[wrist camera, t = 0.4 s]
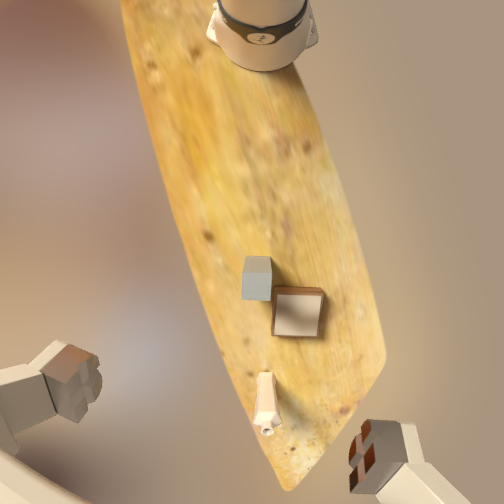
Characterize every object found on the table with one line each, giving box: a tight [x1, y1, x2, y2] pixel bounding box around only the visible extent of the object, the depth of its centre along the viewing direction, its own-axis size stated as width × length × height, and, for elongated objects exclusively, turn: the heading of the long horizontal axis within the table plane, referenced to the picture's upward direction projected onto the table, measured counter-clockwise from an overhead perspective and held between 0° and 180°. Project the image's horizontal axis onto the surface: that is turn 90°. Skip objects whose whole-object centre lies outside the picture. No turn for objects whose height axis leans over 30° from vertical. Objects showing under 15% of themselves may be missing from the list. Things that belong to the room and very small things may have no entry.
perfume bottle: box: [253, 372, 281, 436], centre depth 52 cm, size 5×4×15 cm
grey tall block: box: [242, 256, 272, 301], centre depth 50 cm, size 4×4×10 cm
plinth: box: [271, 286, 324, 337], centre depth 54 cm, size 8×8×3 cm
